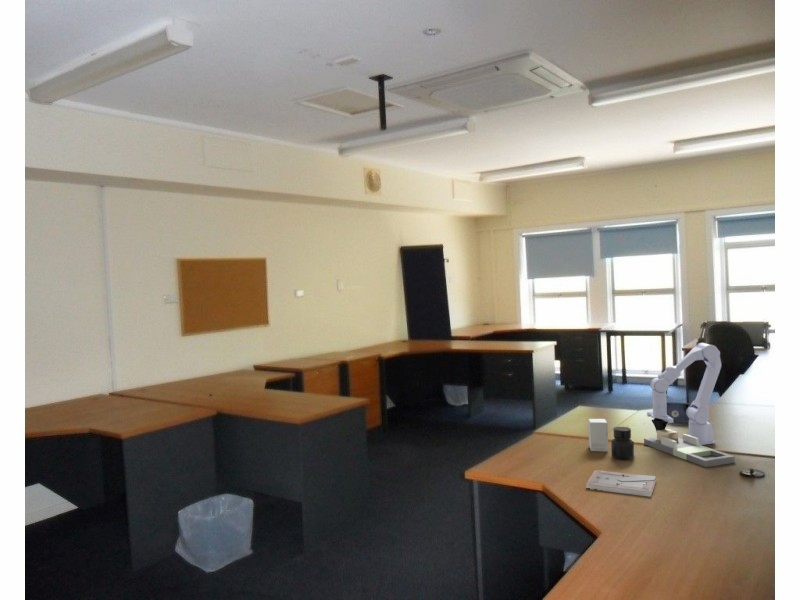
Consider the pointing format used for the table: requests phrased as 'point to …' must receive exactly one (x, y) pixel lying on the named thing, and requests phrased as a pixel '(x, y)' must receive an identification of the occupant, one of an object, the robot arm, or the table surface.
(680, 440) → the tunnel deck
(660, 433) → the birch block
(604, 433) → the supplement box
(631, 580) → the table surface
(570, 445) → the table surface
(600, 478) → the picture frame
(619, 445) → the ink bottle
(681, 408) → the vhs cassette tape
